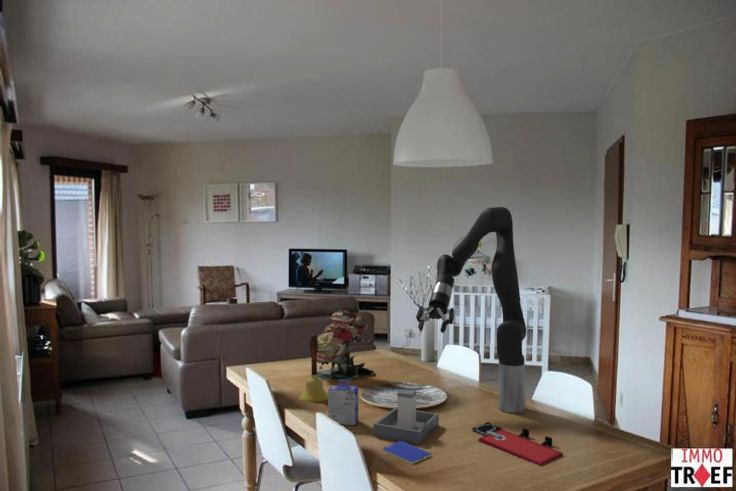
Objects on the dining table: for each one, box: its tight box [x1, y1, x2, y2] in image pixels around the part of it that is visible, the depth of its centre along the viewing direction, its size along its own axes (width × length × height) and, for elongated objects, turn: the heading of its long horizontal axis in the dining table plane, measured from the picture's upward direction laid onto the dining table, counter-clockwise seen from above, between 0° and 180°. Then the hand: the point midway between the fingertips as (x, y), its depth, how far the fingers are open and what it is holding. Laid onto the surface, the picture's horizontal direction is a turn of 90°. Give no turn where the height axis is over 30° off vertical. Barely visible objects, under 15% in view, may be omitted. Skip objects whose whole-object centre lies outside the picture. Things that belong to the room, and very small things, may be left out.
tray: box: [372, 406, 440, 446], centre depth 178 cm, size 16×18×4 cm
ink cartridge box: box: [327, 379, 359, 426], centre depth 186 cm, size 10×6×14 cm, turn 78°
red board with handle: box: [470, 422, 564, 466], centre depth 167 cm, size 30×3×15 cm
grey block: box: [396, 388, 417, 430], centre depth 178 cm, size 5×4×12 cm
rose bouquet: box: [310, 309, 376, 383], centre depth 246 cm, size 26×29×30 cm
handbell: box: [298, 334, 328, 403], centre depth 214 cm, size 12×12×25 cm
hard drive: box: [382, 441, 432, 465], centre depth 160 cm, size 2×8×12 cm
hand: (431, 330), depth 201 cm, fingers open, 8 cm apart
